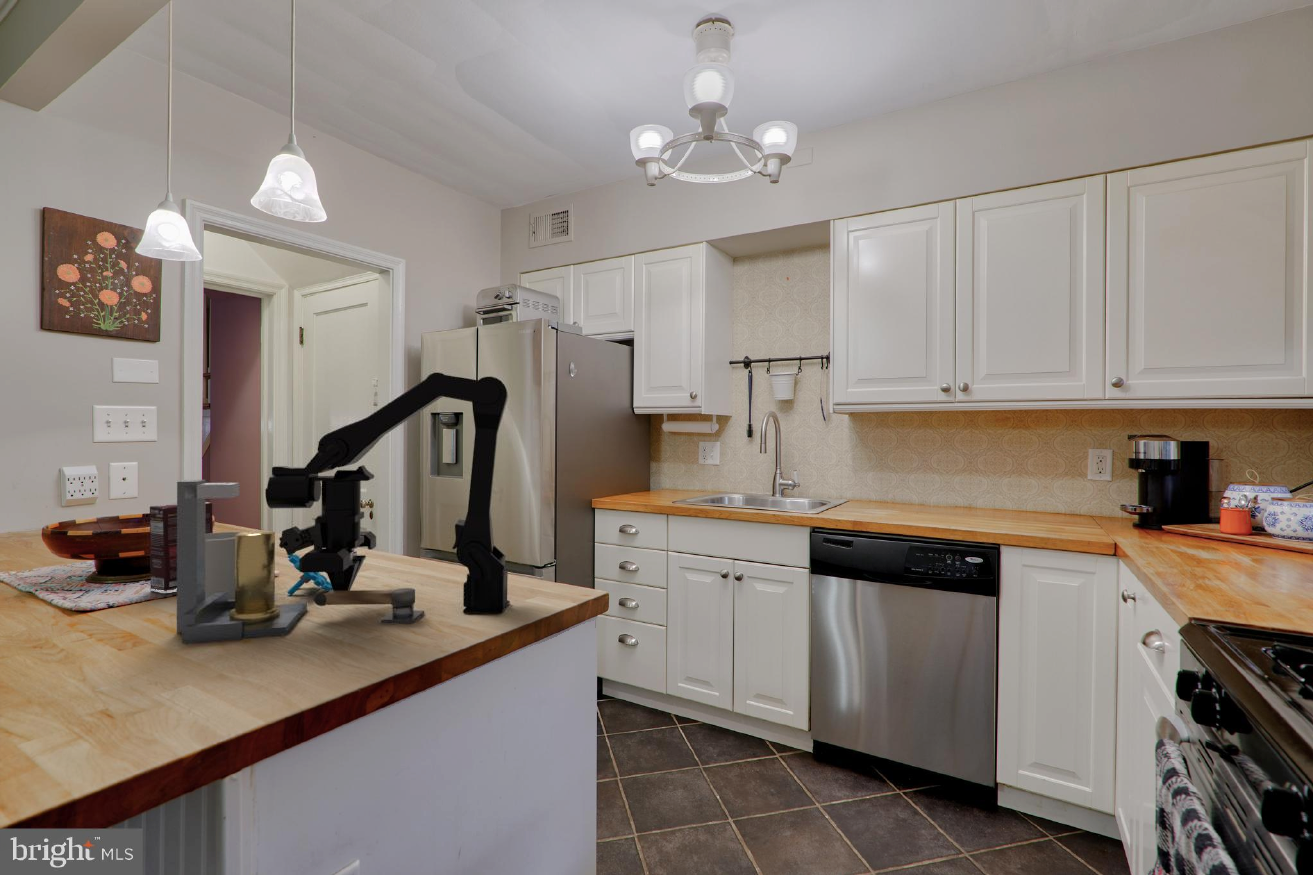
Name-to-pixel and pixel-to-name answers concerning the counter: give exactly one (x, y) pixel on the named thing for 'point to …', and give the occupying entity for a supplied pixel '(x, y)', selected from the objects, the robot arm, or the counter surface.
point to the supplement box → (167, 544)
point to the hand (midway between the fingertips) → (340, 602)
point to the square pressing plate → (402, 615)
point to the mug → (220, 563)
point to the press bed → (193, 610)
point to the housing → (254, 577)
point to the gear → (308, 577)
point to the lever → (366, 597)
